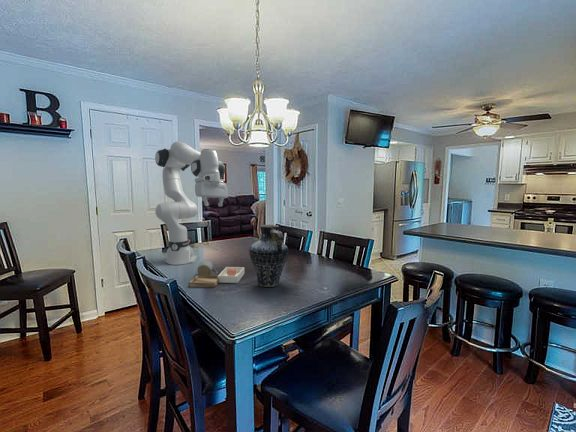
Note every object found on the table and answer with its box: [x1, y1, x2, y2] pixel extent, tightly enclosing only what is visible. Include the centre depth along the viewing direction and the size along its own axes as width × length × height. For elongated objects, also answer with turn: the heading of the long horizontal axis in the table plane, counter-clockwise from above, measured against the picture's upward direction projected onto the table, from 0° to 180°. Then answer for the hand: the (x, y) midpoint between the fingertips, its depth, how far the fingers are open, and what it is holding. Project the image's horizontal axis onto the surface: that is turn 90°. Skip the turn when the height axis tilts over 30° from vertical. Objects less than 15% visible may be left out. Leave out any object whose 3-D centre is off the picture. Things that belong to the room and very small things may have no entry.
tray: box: [187, 274, 220, 289], centre depth 153 cm, size 13×13×2 cm
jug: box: [248, 224, 289, 288], centre depth 149 cm, size 21×19×30 cm
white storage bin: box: [217, 266, 245, 284], centre depth 161 cm, size 16×10×4 cm, turn 176°
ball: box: [227, 266, 236, 276], centre depth 160 cm, size 5×5×5 cm
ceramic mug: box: [196, 259, 218, 275], centre depth 165 cm, size 11×8×8 cm
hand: (213, 206), depth 154 cm, fingers open, 8 cm apart
